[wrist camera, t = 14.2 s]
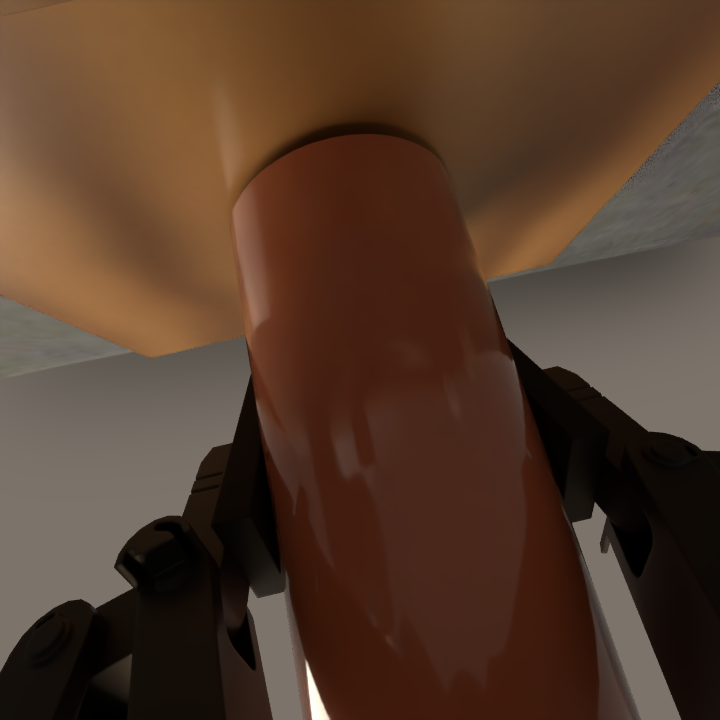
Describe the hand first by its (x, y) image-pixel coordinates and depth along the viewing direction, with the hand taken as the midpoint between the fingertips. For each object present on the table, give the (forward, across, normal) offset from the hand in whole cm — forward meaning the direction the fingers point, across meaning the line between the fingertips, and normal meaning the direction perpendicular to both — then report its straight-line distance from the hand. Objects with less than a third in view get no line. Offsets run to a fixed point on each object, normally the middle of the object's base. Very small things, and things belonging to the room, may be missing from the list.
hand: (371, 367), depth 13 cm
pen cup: (0, 0, +5) cm, 5 cm away
